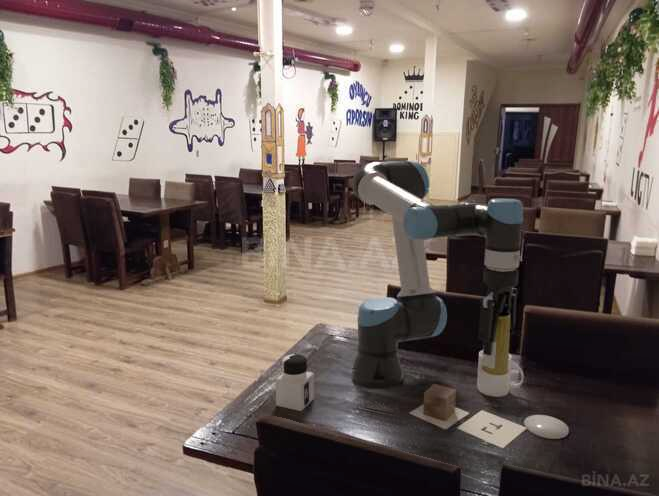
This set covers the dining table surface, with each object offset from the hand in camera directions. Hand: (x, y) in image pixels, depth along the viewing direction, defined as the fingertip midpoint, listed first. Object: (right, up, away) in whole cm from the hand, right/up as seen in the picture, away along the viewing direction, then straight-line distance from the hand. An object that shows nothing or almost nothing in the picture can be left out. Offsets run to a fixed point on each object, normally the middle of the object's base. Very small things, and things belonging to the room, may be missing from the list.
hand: (495, 362), depth 122 cm
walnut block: (-11, -15, +10) cm, 21 cm away
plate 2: (0, -17, +3) cm, 17 cm away
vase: (0, -2, 0) cm, 2 cm away
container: (-48, -15, +17) cm, 53 cm away
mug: (+8, -13, +22) cm, 27 cm away
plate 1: (-11, -16, +10) cm, 22 cm away
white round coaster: (+14, -17, +4) cm, 22 cm away
